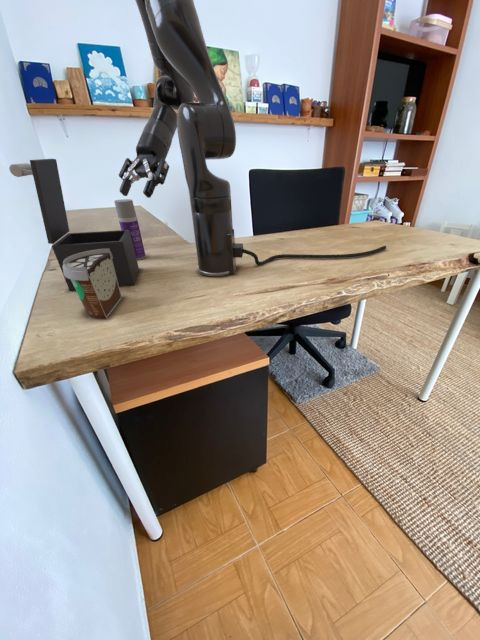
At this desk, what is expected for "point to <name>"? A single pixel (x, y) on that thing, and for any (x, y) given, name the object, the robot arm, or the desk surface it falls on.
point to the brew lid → (47, 195)
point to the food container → (94, 281)
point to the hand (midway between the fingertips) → (134, 194)
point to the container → (130, 225)
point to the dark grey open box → (111, 240)
